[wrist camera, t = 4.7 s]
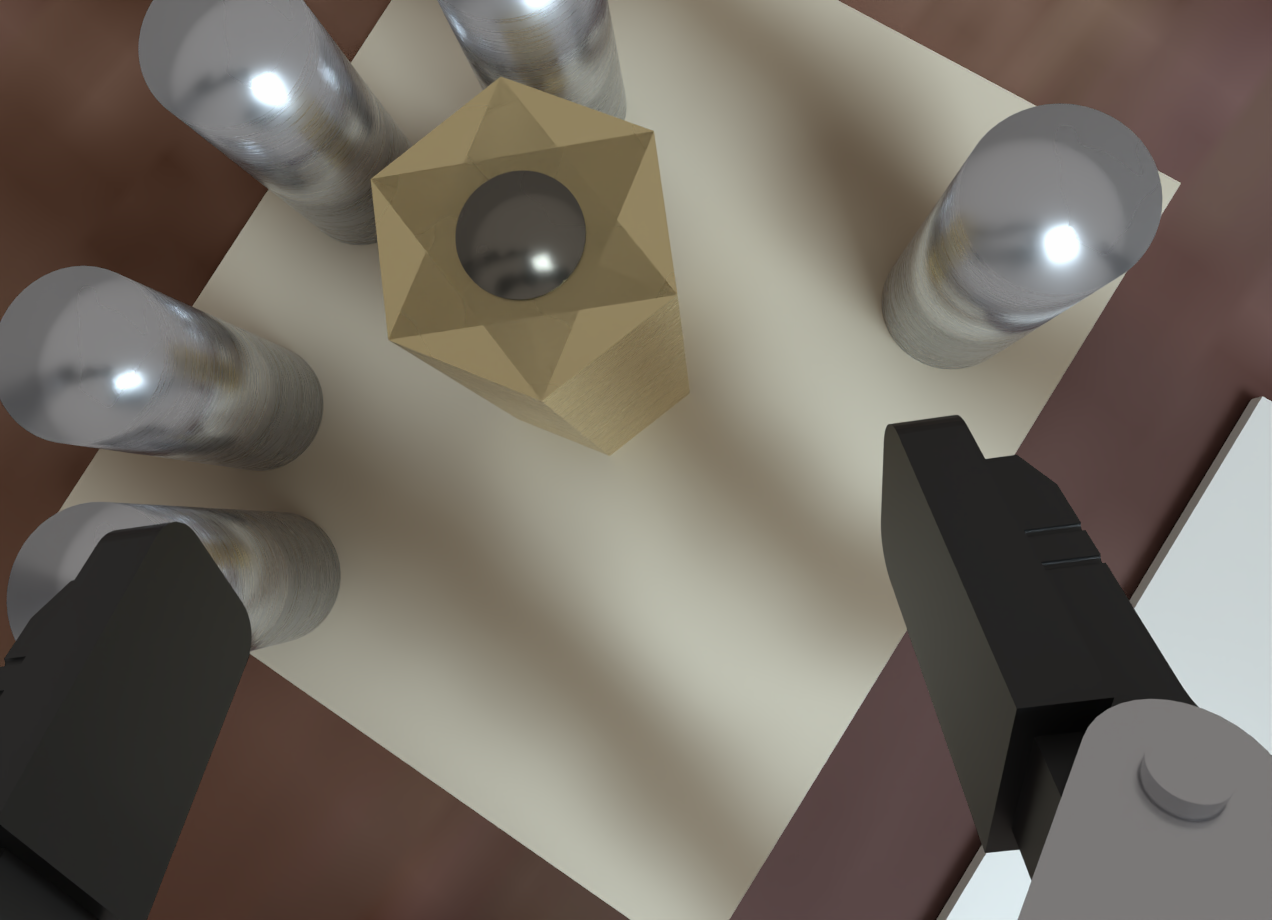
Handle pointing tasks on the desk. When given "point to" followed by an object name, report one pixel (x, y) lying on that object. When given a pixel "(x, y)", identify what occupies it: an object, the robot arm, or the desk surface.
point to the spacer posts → (343, 209)
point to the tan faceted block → (536, 264)
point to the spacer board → (636, 458)
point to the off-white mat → (1189, 625)
